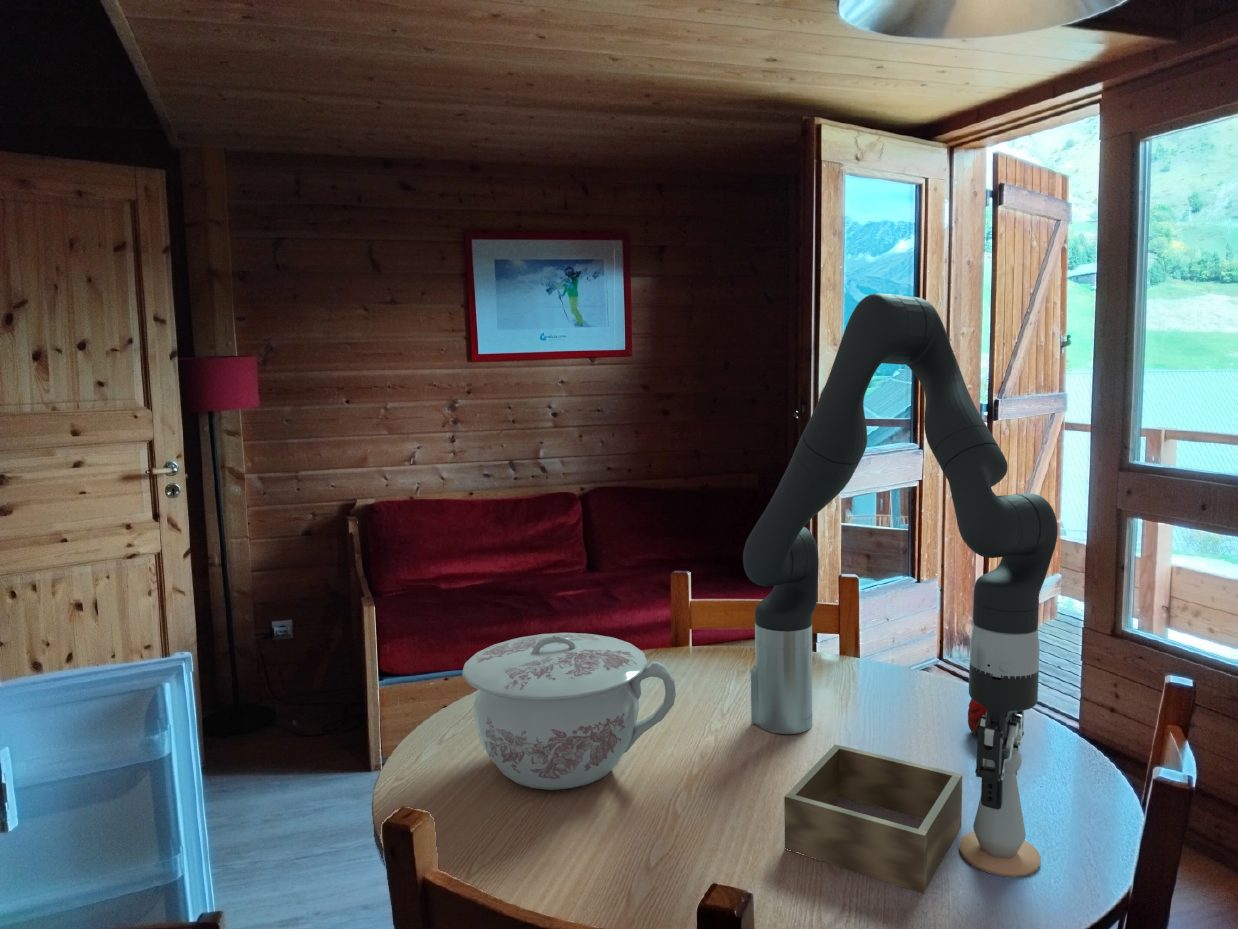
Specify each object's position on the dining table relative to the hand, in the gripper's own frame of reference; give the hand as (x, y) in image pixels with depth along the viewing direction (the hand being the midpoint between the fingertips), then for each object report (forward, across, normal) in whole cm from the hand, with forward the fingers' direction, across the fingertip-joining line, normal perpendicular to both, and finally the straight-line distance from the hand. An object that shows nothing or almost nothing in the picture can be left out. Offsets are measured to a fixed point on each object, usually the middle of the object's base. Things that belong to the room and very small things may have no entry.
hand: (999, 791), depth 106 cm
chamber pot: (+9, +10, -60) cm, 61 cm away
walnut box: (+8, +4, -14) cm, 17 cm away
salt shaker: (+8, 0, 0) cm, 8 cm away
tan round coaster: (+8, 0, 0) cm, 8 cm away
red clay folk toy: (+9, -34, -8) cm, 36 cm away
